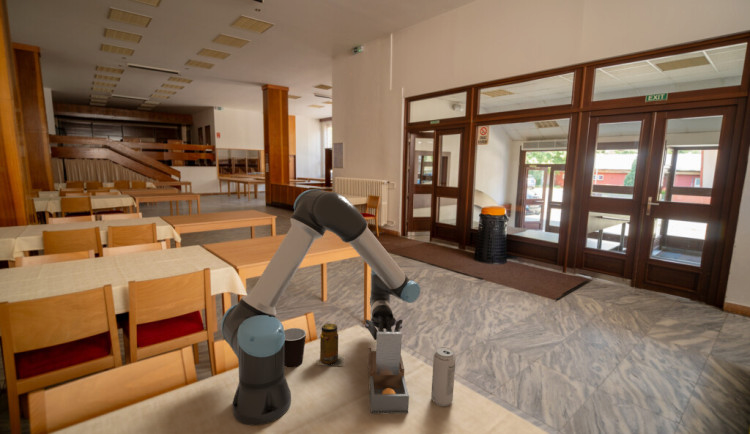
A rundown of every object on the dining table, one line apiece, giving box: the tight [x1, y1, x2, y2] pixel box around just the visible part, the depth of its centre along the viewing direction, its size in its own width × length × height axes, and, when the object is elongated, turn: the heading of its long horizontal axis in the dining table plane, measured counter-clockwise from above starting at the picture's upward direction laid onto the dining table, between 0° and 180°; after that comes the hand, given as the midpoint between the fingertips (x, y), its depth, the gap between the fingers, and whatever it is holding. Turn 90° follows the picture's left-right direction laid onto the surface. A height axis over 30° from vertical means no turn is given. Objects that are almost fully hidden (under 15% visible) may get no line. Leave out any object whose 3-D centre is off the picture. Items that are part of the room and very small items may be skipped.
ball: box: [382, 388, 396, 394], centre depth 95 cm, size 4×4×4 cm
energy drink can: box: [430, 346, 457, 407], centre depth 98 cm, size 6×6×15 cm
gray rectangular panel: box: [375, 331, 403, 375], centre depth 99 cm, size 7×1×13 cm, turn 94°
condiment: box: [316, 323, 346, 367], centre depth 116 cm, size 7×8×12 cm
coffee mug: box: [284, 327, 307, 369], centre depth 116 cm, size 12×9×10 cm
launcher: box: [367, 347, 405, 392], centre depth 107 cm, size 10×12×7 cm
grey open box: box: [369, 375, 410, 414], centre depth 97 cm, size 10×9×5 cm
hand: (388, 348), depth 101 cm, fingers closed
